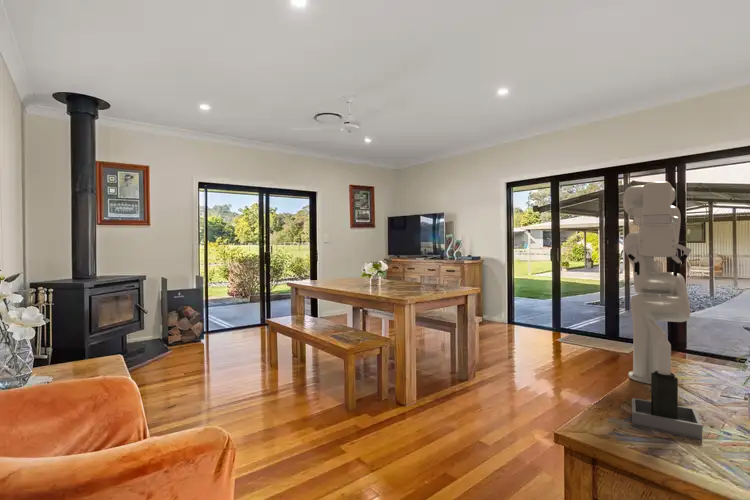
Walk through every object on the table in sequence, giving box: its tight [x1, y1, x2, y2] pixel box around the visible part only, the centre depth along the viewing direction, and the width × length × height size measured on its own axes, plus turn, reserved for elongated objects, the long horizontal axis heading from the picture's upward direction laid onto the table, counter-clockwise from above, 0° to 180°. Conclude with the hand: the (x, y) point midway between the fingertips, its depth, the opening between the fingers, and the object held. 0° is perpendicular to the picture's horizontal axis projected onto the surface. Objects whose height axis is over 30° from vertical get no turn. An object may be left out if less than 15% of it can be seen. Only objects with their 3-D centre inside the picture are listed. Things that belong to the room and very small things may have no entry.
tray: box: [631, 397, 703, 441], centre depth 110 cm, size 12×15×4 cm
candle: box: [650, 331, 679, 420], centre depth 110 cm, size 5×5×25 cm
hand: (656, 275), depth 125 cm, fingers open, 9 cm apart
